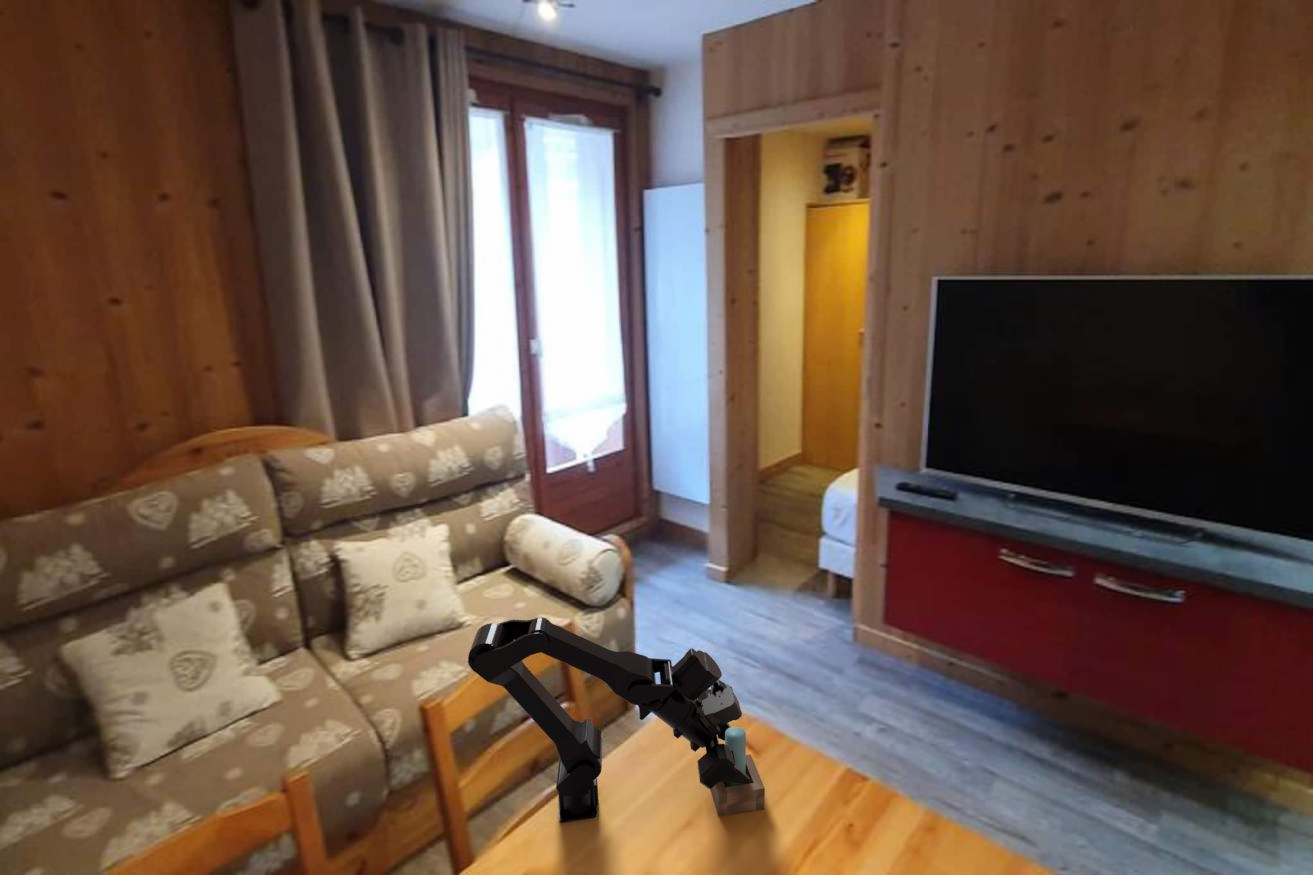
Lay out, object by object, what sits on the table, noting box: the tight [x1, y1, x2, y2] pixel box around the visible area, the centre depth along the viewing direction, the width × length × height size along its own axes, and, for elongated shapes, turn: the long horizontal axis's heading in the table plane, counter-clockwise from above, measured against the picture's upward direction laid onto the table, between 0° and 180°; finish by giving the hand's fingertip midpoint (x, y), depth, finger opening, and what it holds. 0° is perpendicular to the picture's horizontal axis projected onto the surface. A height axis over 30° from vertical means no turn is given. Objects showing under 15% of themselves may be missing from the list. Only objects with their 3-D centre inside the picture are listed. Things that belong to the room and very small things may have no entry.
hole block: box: [709, 753, 766, 817], centre depth 120 cm, size 8×8×4 cm
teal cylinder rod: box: [724, 726, 747, 787], centre depth 119 cm, size 4×4×13 cm
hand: (743, 761), depth 119 cm, fingers open, 9 cm apart
